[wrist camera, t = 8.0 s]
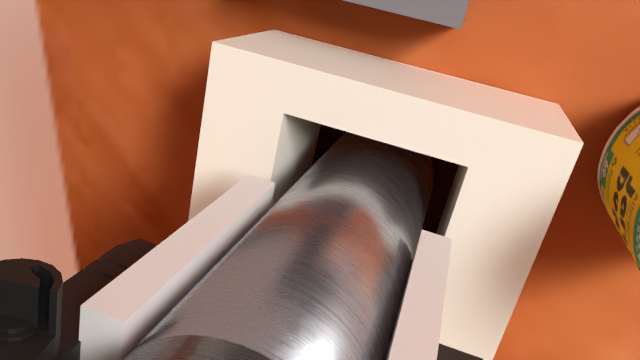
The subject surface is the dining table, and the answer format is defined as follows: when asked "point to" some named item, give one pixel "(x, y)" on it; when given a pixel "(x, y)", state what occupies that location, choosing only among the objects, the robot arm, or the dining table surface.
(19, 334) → the robot arm
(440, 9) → the stand collar
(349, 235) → the steel pin
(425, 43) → the dining table surface
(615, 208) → the supplement bottle
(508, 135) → the socket block
